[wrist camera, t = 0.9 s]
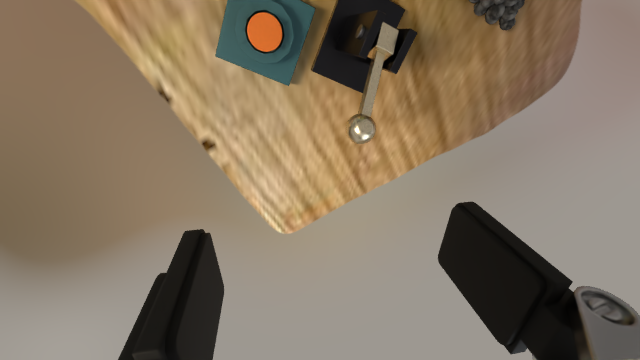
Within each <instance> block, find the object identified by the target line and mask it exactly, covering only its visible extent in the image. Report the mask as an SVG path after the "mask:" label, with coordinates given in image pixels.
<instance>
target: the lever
mask: <svg viewBox="0 0 640 360" xmlns="http://www.w3.org/2000/svg"><path fill="white" fill-rule="evenodd" d="M398 32H399V30H397V29H395V28H393V27H391V26H390V25H388V24H386V23H384V22H383V23H382V25H381V28H380V30H379V32H378V34H377V36H376V39H375V41H374V43H373V45H372V48H371V50H370V52H369V54H368V57H369V58H371V63H370V67H369V71H368V75H367V79H366V83H365V87H364V91H363V95H362V99H361V103H360V107H359V111H358V114H356V115H354V116H353V117H351V118H350V119H349V121H348V122H347V125H346V134H347V136H348V138H349V139H350V140H351V141H352V142H354V143H356V144H364V143H367V142H369V141H370V140H371V139H372V138H373V137H374V135H375V132H376V125H375V122H374V120H373V119H372V118H371V117H370V116H371V112H372V108H373V104H374V100H375V95H376V91H377V87H378V83H379V79H380V75H381V71H382V66H383V62H384V61H385V60H386V59H387V58H389V57H390V56H392V55H393V53H394V49H395V45H396V41H397V37H398Z"/></svg>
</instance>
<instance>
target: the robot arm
mask: <svg viewBox="0 0 640 360" xmlns="http://www.w3.org/2000/svg"><path fill="white" fill-rule="evenodd" d="M438 261H439V263H440V265H441V266H442V268H443V269H444V270H445V272H446V273H447V274H448V276H449V277H450V278H451V280H452V281H453V282H454V284H455V285H456V286H457V288H458V289H459V291H460V292H461V293H462V294H463V296H464V297H465V299H466V300H467V301H468V303H469V304H470V305H471V307H472V308H473V309H474V311H475V312H476V313H477V314H478V316H479V317H480V319H481V320H482V321H483V323H484V324H485V325H486V327H487V328H488V329H489V331H490V332H491V333H492V335H493V336H494V337H495V339H496V340H497V341H498V342H499V343H500V344H502V345H504V346H505V347H506V349H507V350H508V351H509V353H510V354H515V353H520V352H525V350H526V349H527V348H528V349H529V351H530V352H531V353H532V357H533V360H640V316H639V315H638V313H637V312H636V311H635V310H634V309H633V308H632V307H631V306H630V305H629V304H627V303H626V302H624V301H623V300H621V299H620V298H618V297H616V296H615V295H613V294H611V293H609V292H606V291H604V290H601V289H598V288H594V287H590V286H581V287H577V288H576V290H575V291H574V292H572V291H571V290H570V289H569V286H570V285H571V284H572V281H571V280H570V279H569V278H567V277H566V276H565V275H564V274H563V273H561V272H560V271H559V270H558V269H556V268H555V267H554V266H552V265H551V264H550V263H549V262H548V261H546V260H545V259H544V258H543V257H542V256H540V255H539V254H538V253H537V252H535V251H534V250H533V249H532V248H530V247H529V246H528V245H527V244H525V243H524V242H523V241H522V240H521V239H519V238H518V237H517V236H516V235H514V234H513V233H512V232H511V231H509V230H508V229H507V228H506V227H504V226H503V225H502V224H501V223H500V222H498V221H497V220H496V219H495V218H493V217H492V216H491V215H490V214H488V213H487V212H486V211H485V210H483V209H482V208H481V207H480V206H479V205H477V204H476V203H474V202H464V203H458V204H457V205H456V206H455V207H454V208H453V209H452V211H451V214H450V218H449V221H448V224H447V228H446V231H445V234H444V238H443V241H442V244H441V248H440V251H439V254H438ZM223 296H224V284H223V280H222V277H221V273H220V269H219V265H218V261H217V257H216V253H215V250H214V246H213V242H212V238H211V235H210V233H205V231H204V230H203V229H200V230H191V231H185V232H184V234H183V236H182V238H181V241H180V243H179V245H178V248H177V250H176V252H175V254H174V257H173V259H172V262H171V264H170V266H169V268H168V271H167V273H160V274H159V275H158V276H157V278H156V279H155V282H154V284H153V286H152V288H151V290H150V292H149V294H148V296H147V299H146V301H145V303H144V305H143V307H142V309H141V312H140V314H139V316H138V318H137V320H136V322H135V325H134V327H133V329H132V331H131V333H130V335H129V337H128V340H127V342H126V344H125V346H124V348H123V350H122V352H121V355H120V357H119V359H118V360H212V359H213V354H214V348H215V342H216V336H217V330H218V324H219V319H220V313H221V307H222V301H223Z"/></svg>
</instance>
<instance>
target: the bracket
mask: <svg viewBox="0 0 640 360" xmlns="http://www.w3.org/2000/svg"><path fill="white" fill-rule="evenodd" d="M404 11H405V9H403V8H402V7H400V6H398V5H397V4H395V3H393V2H392V1H390V0H337V1H336V4H335V6H334V9H333V12H332V15H331V17H330V20H329V23H328V25H327V28H326V31H325V33H324V36H323V39H322V41H321V44H320V47H319V49H318V52H317V55H316V58H315V60H314V63H313V66H312V68H311V70H312V71H313V72H315V73H318V74H320V75H322V76H325V77H327V78H329V79H331V80H334V81H336V82H338V83H341V84H343V85H345V86H347V87H350V88H352V89H354V90H357V91H359V92H361V93H363V91H364V87H365V83H366V79H367V75H368V71H369V67H370V63H371V58H369V57H368V54H369V52H370V50H371V48H372V45H373V43H374V41H375V39H376V36H377V34H378V32H379V30H380V28H381V25H382V23H383V22H384V23H386V24H388V25H390V26H391V27H393V28H395V29H396V28H397V26H398V24H399V22H400V19H401V17H402V15H403V13H404ZM397 30H399V32H398V37H397V41H396V45H395V49H394V53H393V55H392V56H390V57H389V58H387V59H386V60H385V61H384V62H383V66H382V70H385V71H388V72H391V73H395V74H397V72H398V70H399V68H400V66H401V64H402V62H403V60H404V58H405V56H406V54H407V52H408V50H409V49H410V47H411V45H412V43H413V41H414V39H415V37H416V35H417V32H416V31H414V30H412V29H397Z"/></svg>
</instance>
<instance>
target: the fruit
mask: <svg viewBox="0 0 640 360" xmlns="http://www.w3.org/2000/svg"><path fill="white" fill-rule="evenodd" d="M469 1H470V2H472V3H476V2H477V3H476V5H475V6H474V12H475V14H476V15H478V16H480V15H483V14H485V13H486V14H485V19H486V22H487V23H489V24H493V23H496V22H497V21H498V19H499V18H500V19H499V25H500V28H501V29H502V30H509V29H511V28H512V27H513V26H514V25H515V22H516V20H515V16H516V14H517V12H518V10H519V9H520V8H521V7H522V6H523V5H524V1H525V0H469Z"/></svg>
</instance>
